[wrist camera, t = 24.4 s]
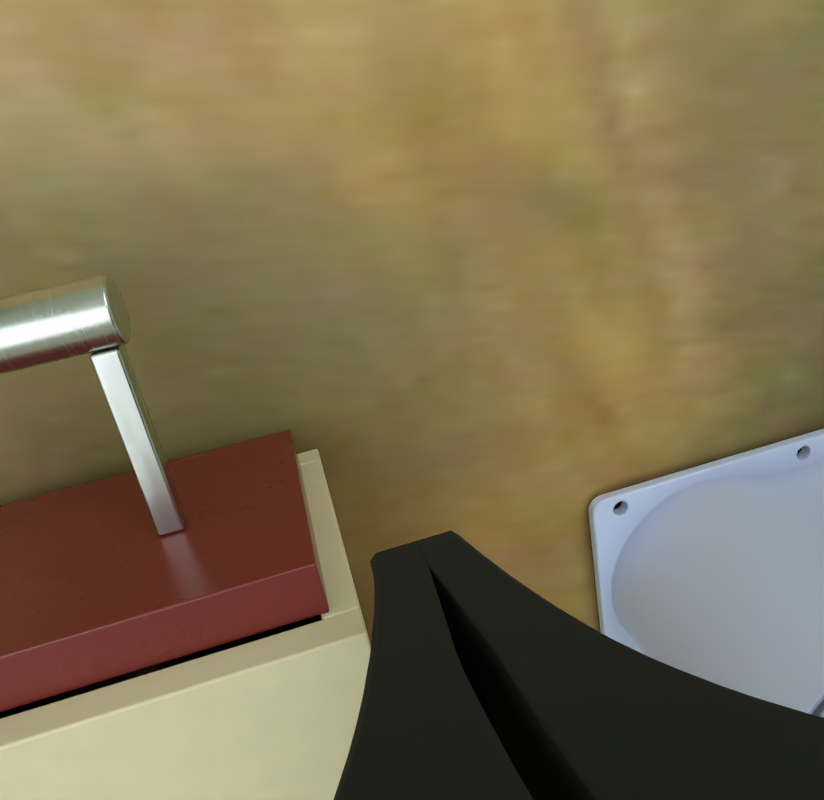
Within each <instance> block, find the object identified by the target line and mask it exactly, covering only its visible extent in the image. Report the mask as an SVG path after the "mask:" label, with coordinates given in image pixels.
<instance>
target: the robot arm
mask: <svg viewBox="0 0 824 800" xmlns="http://www.w3.org/2000/svg"><path fill="white" fill-rule="evenodd" d="M800 448H801V451H800V452H799V453H798V454H797V452H798V450H799V449H800ZM620 501H622V503H621V505H620V507H619V508H617V509H614V506H615V505H616V504H617V503H618V502H620ZM613 509H614V510H613ZM588 513H589V522H590V532H591V542H592V552H593V562H594V572H595V582H596V591H597V601H598V611H599V621H600V631H601V633H600V632H598V631H597V630H595V629H593V628H591V627H589V626H588V625H586V624H584V623H583V622H581V621H579V620H578V619H576V618H574V617H573V616H571V615H569V614H567V613H566V612H564V611H562V610H561V609H559V608H558V607H556V606H554V605H553V604H551V603H550V602H548V601H547V600H545V599H544V598H542V597H541V596H539V595H538V594H536V593H535V592H533V591H532V590H530V589H529V588H527V587H526V586H524V585H523V584H522V583H520V582H519V581H517V580H516V579H514V578H513V577H512V576H510V575H509V574H507V573H506V572H505V571H503V570H502V569H501V568H499V567H498V566H497V565H495V564H494V563H493V562H491V561H490V560H489V559H487V558H486V557H485V556H484V555H482V554H481V553H480V552H479V551H477V550H476V549H475V548H474V547H472V546H471V545H470V544H469V543H468V542H466V541H465V540H464V539H463V538H462V537H460V536H459V535H458V534H456V533H454V532H453V531H448V532H444V533H441V534H438V535H434V536H431V537H428V538H425V539H421V540H418V541H415V542H411V543H408V544H405V545H401V546H398V547H395V548H391V549H388V550H385V551H381V552H378V553H376V554H375V555H374V557H373V558H372V560H371V561H370V563H371V567H372V571H373V576H374V587H375V604H374V621H373V632H372V643H371V651H370V658H369V664H368V669H367V675H366V681H365V686H364V692H363V697H362V702H361V706H360V711H359V715H358V719H357V723H356V727H355V731H354V735H353V738H352V742H351V746H350V749H349V753H348V756H347V760H346V763H345V766H344V769H343V772H342V775H341V778H340V781H339V784H338V787H337V790H336V793H335V796H334V800H824V429H820V430H817V431H814V432H810V433H807V434H803V435H800V436H797V437H793V438H790V439H787V440H783V441H780V442H777V443H773V444H770V445H767V446H763V447H760V448H756V449H753V450H750V451H746V452H743V453H740V454H736V455H733V456H730V457H726V458H723V459H720V460H716V461H713V462H709V463H706V464H703V465H699V466H696V467H693V468H689V469H686V470H683V471H679V472H676V473H673V474H669V475H666V476H662V477H659V478H656V479H652V480H649V481H646V482H642V483H639V484H636V485H632V486H629V487H626V488H622V489H619V490H615V491H612V492H609V493H605V494H602V495H600V496H597V497H596V498H595V499H594V500H592V501H591V503H590V505H589V511H588Z"/></svg>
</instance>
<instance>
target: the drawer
mask: <svg viewBox="0 0 824 800" xmlns="http://www.w3.org/2000/svg"><path fill="white" fill-rule="evenodd" d="M130 338H131V329H130V322H129V318H128V314H127V310H126V307H125V304H124V301H123V298H122V296H121V293H120V291H119V289H118V287H117V285H116V283H115V282H114V281H113V279H112V278H111V277H110V276H109V275H100V276H96V277H91V278H87V279H82V280H78V281H73V282H69V283H65V284H60V285H56V286H51V287H47V288H42V289H38V290H33V291H29V292H24V293H20V294H15V295H11V296H6V297H2V298H0V374H4V373H8V372H12V371H16V370H21V369H25V368H29V367H33V366H37V365H41V364H46V363H50V362H54V361H58V360H62V359H67V358H71V357H75V356H79V355H83V354H88V353H92V354H91V355H90V360H91V363H92V365H93V368H94V370H95V373H96V376H97V378H98V381H99V383H100V386H101V389H102V391H103V394H104V396H105V399H106V402H107V404H108V407H109V409H110V412H111V415H112V417H113V420H114V422H115V425H116V428H117V430H118V433H119V435H120V438H121V441H122V443H123V446H124V448H125V451H126V454H127V456H128V459H129V461H130V464H131V467H132V469H133V471H131V472H127V473H123V474H119V475H116V476H112V477H108V478H104V479H100V480H97V481H93V482H89V483H85V484H82V485H78V486H74V487H70V488H66V489H63V490H59V491H55V492H51V493H48V494H44V495H40V496H36V497H32V498H29V499H25V500H21V501H17V502H14V503H10V504H6V505H2V506H0V719H1V718H4V717H8V716H11V715H14V714H18V713H21V712H24V711H27V710H31V709H34V708H37V707H40V706H44V705H47V704H48V703H49V700H50V697H52V696H55V695H59V694H62V693H65V692H68V691H72V690H75V689H78V688H81V687H85V686H88V685H91V684H95V683H98V682H101V681H104V680H108V679H111V678H114V677H117V676H121V675H124V674H127V673H131V672H134V671H137V670H140V669H144V668H147V667H150V666H153V665H157V664H160V663H163V662H167V661H170V660H173V659H176V658H180V657H183V656H186V655H189V654H193V653H196V652H199V651H203V650H206V649H209V648H212V647H215V649H216V652H220V651H223V650H226V649H229V648H233V647H236V646H239V645H242V644H246V643H249V642H252V641H255V640H259V639H262V638H265V637H268V636H272V635H275V634H278V633H282V632H285V631H288V630H291V629H295V628H298V627H301V626H304V625H308V624H311V623H314V622H317V621H319V618H318V615H320V614H324V613H327V612H329V605H328V600H327V595H326V590H325V585H324V580H323V575H322V570H321V566H320V561H319V556H318V551H317V546H316V541H315V536H314V531H313V526H312V521H311V516H310V511H309V506H308V501H307V496H306V491H305V486H304V481H303V476H302V471H301V467H300V463H299V459H298V455H297V452H296V448H295V445H294V441H293V437H292V434H291V431H290V430H285V431H282V432H278V433H274V434H270V435H267V436H263V437H259V438H255V439H251V440H248V441H244V442H240V443H236V444H233V445H229V446H225V447H221V448H218V449H214V450H210V451H206V452H202V453H199V454H195V455H191V456H187V457H184V458H180V459H176V460H172V461H168V462H166V459H165V457H164V454H163V451H162V448H161V446H160V443H159V440H158V437H157V435H156V432H155V429H154V426H153V423H152V421H151V418H150V415H149V412H148V410H147V407H146V404H145V401H144V399H143V396H142V393H141V390H140V388H139V385H138V382H137V379H136V376H135V374H134V371H133V368H132V365H131V363H130V360H129V357H128V354H127V352H126V349H125V346H124V345H125V344H127V343H129V342H130Z"/></svg>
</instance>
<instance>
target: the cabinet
mask: <svg viewBox="0 0 824 800" xmlns="http://www.w3.org/2000/svg"><path fill="white" fill-rule="evenodd" d="M297 455H298V459H299V463H300V467H301V471H302V476H303V481H304V486H305V491H306V496H307V501H308V506H309V511H310V516H311V521H312V526H313V531H314V536H315V541H316V546H317V551H318V556H319V561H320V566H321V570H322V575H323V580H324V585H325V590H326V595H327V600H328V605H329V612H327V613H324V614H320V615H318V618H319V621H317V622H314V623H311V624H308V625H304V626H301V627H298V628H295V629H291V630H288V631H285V632H282V633H278V634H275V635H272V636H268V637H265V638H262V639H259V640H255V641H252V642H249V643H246V644H242V645H239V646H236V647H233V648H229V649H226V650H223V651H220V652H216V653H213V654H210V655H207V656H203V657H200V658H197V659H194V660H190V661H187V662H184V663H180V664H177V665H174V666H171V667H167V668H164V669H161V670H158V671H154V672H151V673H148V674H145V675H141V676H138V677H135V678H132V679H128V680H125V681H122V682H119V683H115V684H112V685H109V686H106V687H102V688H99V689H96V690H92V691H89V692H86V693H83V694H79V695H76V696H73V697H70V698H66V699H63V700H60V701H57V702H53V703H50V704H47V705H44V706H40V707H37V708H34V709H31V710H27V711H24V712H21V713H18V714H14V715H11V716H8V717H4V718H1V719H0V800H334V796H335V793H336V790H337V787H338V784H339V781H340V778H341V775H342V772H343V769H344V766H345V763H346V760H347V756H348V753H349V749H350V746H351V742H352V738H353V735H354V731H355V727H356V723H357V719H358V715H359V711H360V706H361V702H362V697H363V692H364V686H365V681H366V675H367V669H368V664H369V658H370V651H371V645H370V641H369V637H368V633H367V630H366V626H365V622H364V618H363V615H362V611H361V607H360V604H359V600H358V596H357V592H356V589H355V585H354V581H353V578H352V574H351V570H350V566H349V563H348V559H347V555H346V551H345V548H344V544H343V540H342V537H341V533H340V529H339V525H338V522H337V518H336V514H335V511H334V507H333V503H332V499H331V496H330V492H329V488H328V484H327V481H326V477H325V473H324V470H323V466H322V462H321V458H320V455H319V451H318V449H314V450H310V451H307V452H303V453H299V454H297Z"/></svg>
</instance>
